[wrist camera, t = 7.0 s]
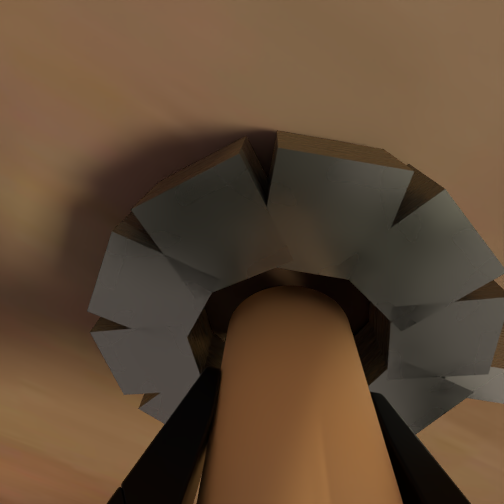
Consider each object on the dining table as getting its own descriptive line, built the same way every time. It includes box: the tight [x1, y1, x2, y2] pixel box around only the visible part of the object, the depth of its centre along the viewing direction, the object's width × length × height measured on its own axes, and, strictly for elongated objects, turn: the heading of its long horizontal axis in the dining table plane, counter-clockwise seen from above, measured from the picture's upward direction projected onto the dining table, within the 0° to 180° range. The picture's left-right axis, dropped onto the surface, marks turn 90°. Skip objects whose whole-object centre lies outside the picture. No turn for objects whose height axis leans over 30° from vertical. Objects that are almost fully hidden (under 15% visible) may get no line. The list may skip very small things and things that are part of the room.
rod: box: [197, 286, 403, 504], centre depth 7 cm, size 4×4×8 cm
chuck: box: [87, 131, 504, 434], centre depth 11 cm, size 12×22×3 cm, turn 81°
